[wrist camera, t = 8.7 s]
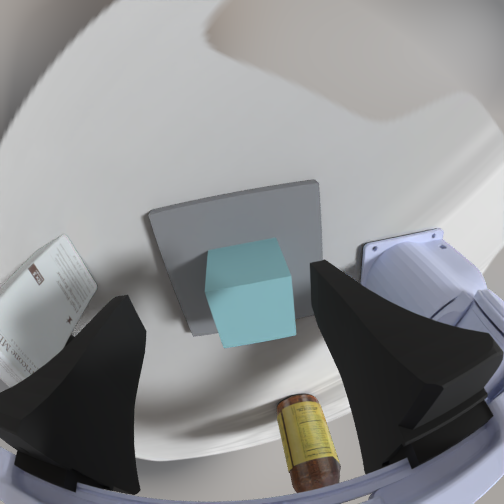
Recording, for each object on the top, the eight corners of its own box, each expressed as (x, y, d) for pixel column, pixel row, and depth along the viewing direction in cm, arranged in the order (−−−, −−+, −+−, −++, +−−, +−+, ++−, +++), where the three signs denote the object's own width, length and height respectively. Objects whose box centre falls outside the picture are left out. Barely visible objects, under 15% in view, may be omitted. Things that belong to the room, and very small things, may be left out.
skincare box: (100, 286, 21) (48, 398, 11) (70, 299, 22) (19, 398, 11) (64, 228, 18) (-21, 325, 8) (35, 247, 19) (-39, 336, 8)
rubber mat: (314, 179, 19) (318, 182, 18) (319, 306, 25) (322, 313, 24) (151, 210, 19) (148, 214, 18) (193, 329, 25) (193, 336, 24)
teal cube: (276, 237, 20) (291, 275, 15) (282, 291, 22) (296, 335, 18) (208, 250, 20) (204, 291, 15) (222, 302, 22) (223, 348, 18)
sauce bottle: (299, 414, 36) (326, 527, 18) (266, 409, 34) (287, 536, 16) (328, 393, 33) (366, 516, 16) (294, 387, 31) (328, 529, 14)
